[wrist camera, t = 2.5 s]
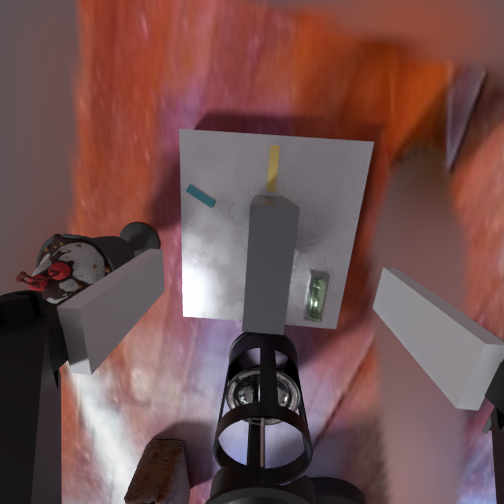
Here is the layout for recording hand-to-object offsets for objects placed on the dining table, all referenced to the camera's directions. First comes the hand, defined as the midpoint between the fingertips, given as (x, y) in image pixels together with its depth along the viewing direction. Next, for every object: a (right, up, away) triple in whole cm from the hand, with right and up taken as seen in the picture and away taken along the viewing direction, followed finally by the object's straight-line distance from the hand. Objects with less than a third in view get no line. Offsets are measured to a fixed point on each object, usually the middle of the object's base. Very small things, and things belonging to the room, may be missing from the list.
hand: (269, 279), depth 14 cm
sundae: (-15, +3, +15) cm, 21 cm away
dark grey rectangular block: (+1, +5, +9) cm, 10 cm away
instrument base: (+1, +4, +13) cm, 14 cm away
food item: (-15, -35, +26) cm, 46 cm away
